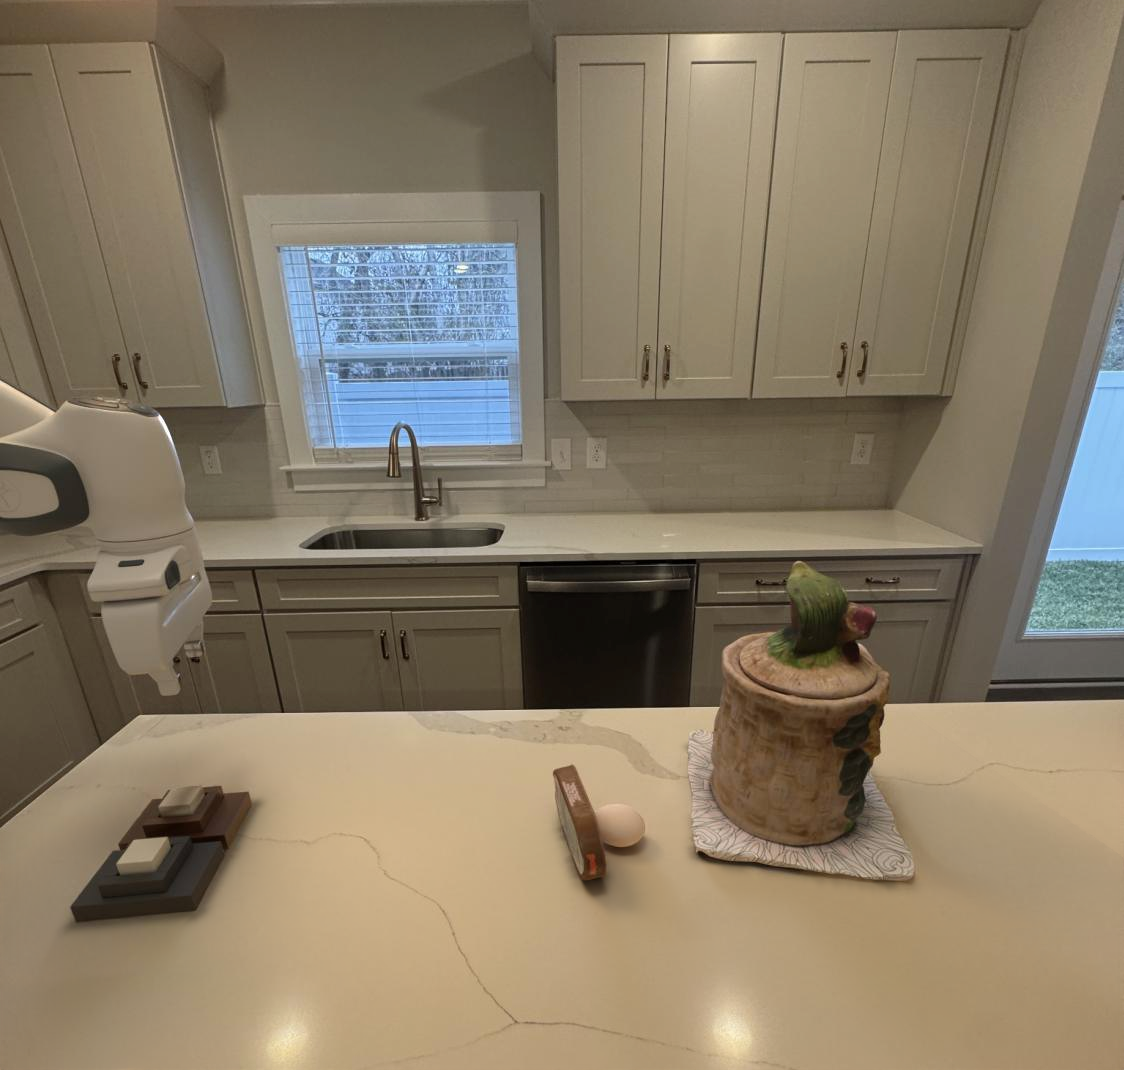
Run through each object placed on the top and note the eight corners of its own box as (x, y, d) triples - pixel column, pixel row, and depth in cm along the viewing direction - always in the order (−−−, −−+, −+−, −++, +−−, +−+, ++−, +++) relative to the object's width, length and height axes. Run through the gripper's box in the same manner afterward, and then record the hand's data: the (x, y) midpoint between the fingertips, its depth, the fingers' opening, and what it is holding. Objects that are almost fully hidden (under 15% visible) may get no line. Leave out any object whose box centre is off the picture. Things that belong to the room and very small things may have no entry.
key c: (120, 876, 66) (115, 864, 65) (137, 851, 69) (133, 839, 68) (155, 873, 66) (151, 860, 65) (171, 848, 69) (167, 836, 69)
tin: (608, 893, 67) (609, 832, 64) (580, 899, 66) (580, 838, 63) (574, 804, 81) (573, 750, 78) (550, 808, 80) (549, 754, 77)
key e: (161, 818, 74) (157, 806, 73) (175, 798, 77) (172, 787, 77) (193, 816, 74) (189, 804, 74) (205, 796, 78) (202, 785, 77)
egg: (642, 859, 71) (585, 851, 73) (645, 833, 76) (592, 826, 77) (644, 823, 70) (586, 815, 71) (647, 799, 74) (593, 792, 76)
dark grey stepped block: (75, 922, 65) (63, 894, 63) (118, 865, 72) (108, 838, 70) (195, 910, 66) (186, 882, 64) (225, 855, 73) (217, 828, 72)
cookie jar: (690, 862, 71) (711, 606, 59) (685, 741, 93) (700, 537, 81) (920, 888, 67) (993, 619, 55) (858, 755, 90) (900, 543, 78)
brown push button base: (122, 858, 73) (113, 832, 71) (156, 812, 80) (148, 787, 79) (228, 849, 74) (221, 822, 73) (252, 804, 81) (245, 780, 80)
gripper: (153, 534, 74) (181, 639, 79) (77, 592, 56) (120, 722, 61) (211, 530, 75) (235, 633, 81) (155, 585, 57) (190, 713, 62)
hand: (185, 672), depth 71 cm, fingers open, 8 cm apart
